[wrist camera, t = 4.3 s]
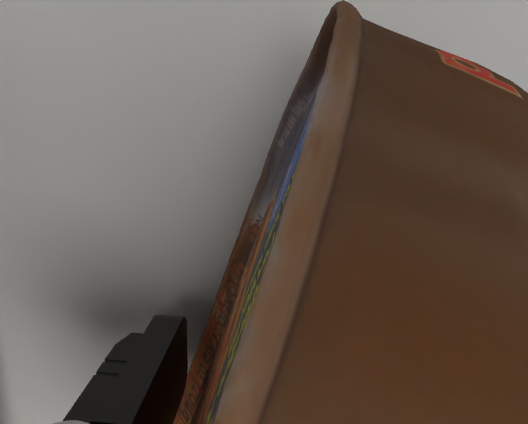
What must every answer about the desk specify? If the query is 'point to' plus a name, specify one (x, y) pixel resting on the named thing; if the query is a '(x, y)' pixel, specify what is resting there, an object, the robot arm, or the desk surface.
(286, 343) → the tin
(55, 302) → the desk surface
